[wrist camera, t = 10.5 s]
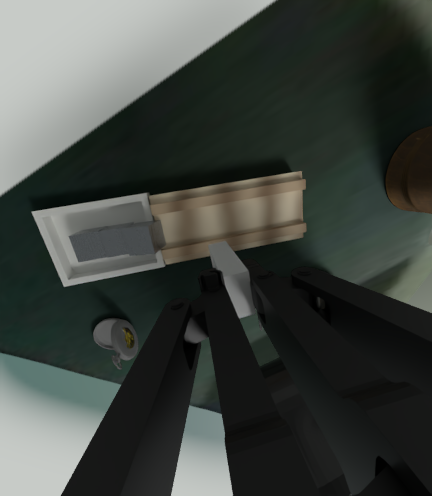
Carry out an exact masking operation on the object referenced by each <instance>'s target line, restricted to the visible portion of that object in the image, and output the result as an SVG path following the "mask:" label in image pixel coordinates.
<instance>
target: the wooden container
mask: <svg viewBox="0 0 432 496" xmlns="http://www.w3.org/2000/svg"><path fill="white" fill-rule="evenodd" d="M385 183H386V191H387V195H388V197H389V199H390V201H391V202H392V204H394V205H395V206H396V207H398V208H399V209H402V210H407V211H415V212H425V213H430V214H432V126H430V127H426V128H423V129H420V130H418V131H416V132H414V133H412V134H411V135H410V136H408V137H407V138H406V139H405V140H404V141H403V142H402V143H401V144H400V145H399V147H398V148H397V149H396V151H395V153H394V154H393V156H392V158H391V160H390V163H389V165H388V169H387V173H386V180H385Z"/></svg>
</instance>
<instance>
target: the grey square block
mask: <svg viewBox="0 0 432 496" xmlns="http://www.w3.org/2000/svg"><path fill="white" fill-rule="evenodd" d="M133 224H134V222H131V223H125V224H119V225H113V226H108V227H106V228H104V229H102V230H101V231H99V235H100V238H101V241H102V244H103V247H104V250H105V253H106V256H107V258H108V257H114V256H119V255H125V254H129V252H128V249H127V246H126V242H125V239H124V236H123V232H122V229H123V228H125V227H128V226H130V225H133Z"/></svg>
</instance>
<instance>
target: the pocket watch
mask: <svg viewBox="0 0 432 496" xmlns="http://www.w3.org/2000/svg"><path fill="white" fill-rule="evenodd" d="M93 336H94V340H95V341H96V343H97V344H98V345H99V346H101V347H103V348H106V349H114V350H115V352H116V353H117V356H114V355H112V357H111V358H112V361H113V363H114V364H115V366H116V367H117V368H118V369H120V370H121V369H122V365H121V363H120V358H121V359H123V360H130V359H132V358H133V357H134V356H135V355H136V354H137V351H138V338H137V335H136V332H135V330H134V328H133V326H132V325H131V324H130V323H129V322H128V321H126V320H121V319H117V318H108V319H105V320H103V321H101V322H100V323H99V324H98V325H96V327H95V329H94V332H93ZM129 343H130V346H129ZM127 346H128V347H129V348H128V347H127ZM113 357H114V359H113ZM116 363H119V364H120V367H119V366H118V365H117V364H116Z"/></svg>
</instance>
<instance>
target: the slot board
mask: <svg viewBox="0 0 432 496" xmlns="http://www.w3.org/2000/svg"><path fill="white" fill-rule="evenodd" d="M303 189H306V179H302V171H298V172H291V173H285V174H278V175H272V176H266V177H260V178H254V179H248V180H242V181H236V182H230V183H224V184H218V185H211V186H205V187H199V188H193V189H187V190H181V191H175V192H169V193H163V194H157V195H151V196H149V199H150V203H151V205H150V208H151V212H152V216H154V219H155V220H161V224H162V228H163V233H164V237H165V241H166V245H165V246H164V247H163V248H162V250H161V252H162V256H163V260H165V263H166V265H167V264H172V263H177V262H182V261H187V260H192V259H197V258H202V257H207V256H210V252H209V247H208V245H210V244H214V243H219V242H223V241H226V242H227V244H228V245H229V246H230V247H231V249H232V250H233V251H237V250H242V249H248V248H253V247H258V246H263V245H268V244H273V243H278V242H283V241H288V240H293V239H298V238H303V232H306V223H304V222H303V204H302V190H303Z"/></svg>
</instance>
